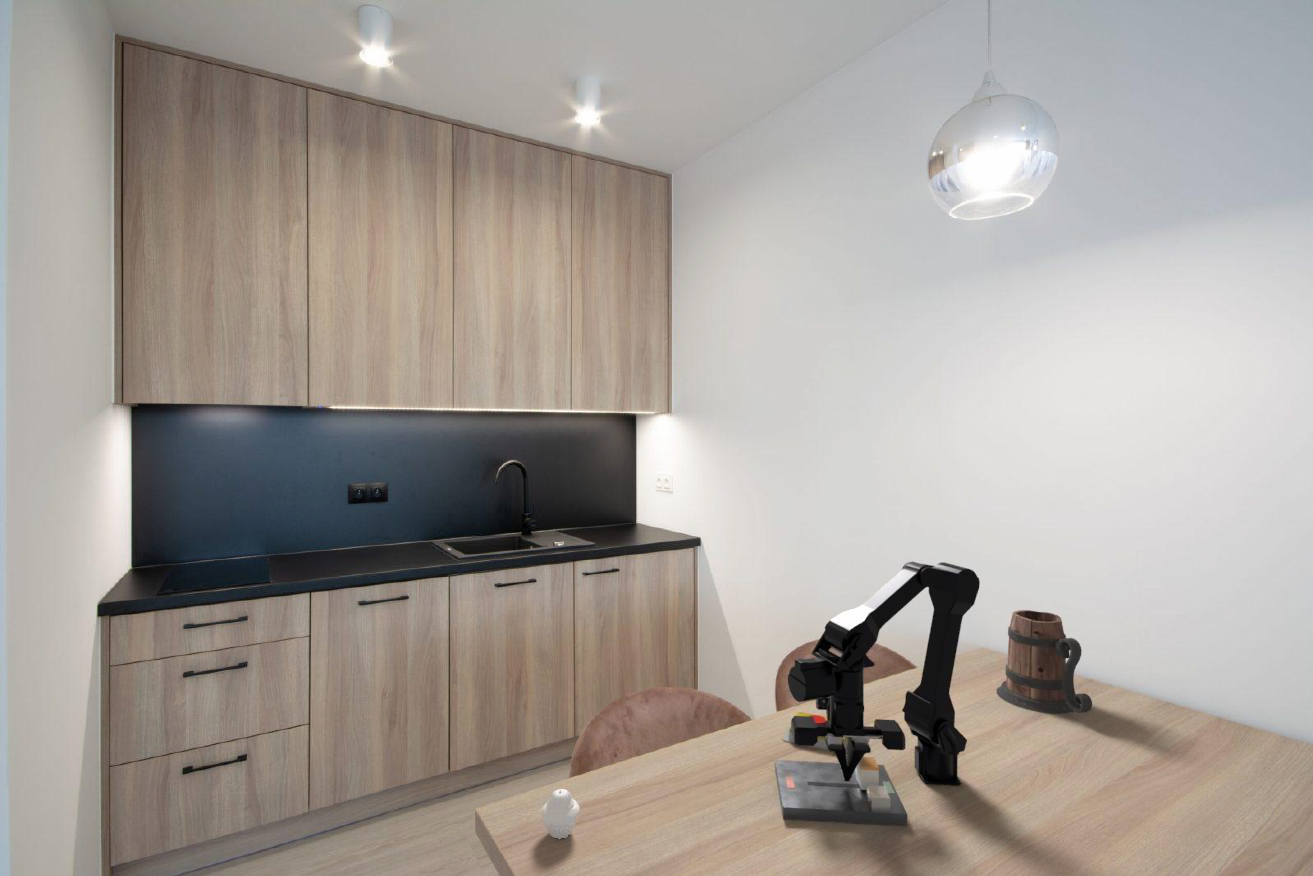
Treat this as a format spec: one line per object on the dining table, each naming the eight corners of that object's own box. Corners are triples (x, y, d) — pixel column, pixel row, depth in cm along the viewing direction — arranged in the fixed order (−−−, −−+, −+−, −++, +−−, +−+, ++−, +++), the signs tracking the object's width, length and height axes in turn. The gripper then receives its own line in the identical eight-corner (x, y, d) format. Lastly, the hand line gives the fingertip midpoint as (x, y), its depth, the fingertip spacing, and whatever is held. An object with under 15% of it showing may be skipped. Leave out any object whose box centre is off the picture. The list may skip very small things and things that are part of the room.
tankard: (980, 686, 159) (981, 607, 158) (1040, 681, 161) (1041, 603, 161) (1053, 730, 136) (1053, 637, 135) (1122, 724, 138) (1122, 633, 138)
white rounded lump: (546, 850, 98) (546, 805, 98) (537, 827, 103) (537, 784, 103) (584, 839, 100) (584, 796, 100) (574, 817, 106) (573, 776, 106)
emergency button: (791, 704, 140) (861, 717, 134) (791, 723, 140) (861, 738, 134) (781, 722, 131) (855, 737, 125) (780, 742, 132) (855, 759, 125)
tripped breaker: (873, 779, 113) (873, 756, 113) (878, 790, 109) (878, 767, 109) (856, 778, 113) (856, 756, 113) (860, 789, 109) (860, 766, 109)
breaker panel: (883, 775, 118) (883, 754, 118) (907, 826, 103) (907, 802, 103) (775, 770, 120) (775, 749, 120) (783, 819, 105) (783, 795, 105)
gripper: (889, 676, 118) (888, 759, 119) (787, 672, 120) (787, 754, 120) (906, 702, 107) (906, 793, 107) (794, 697, 109) (794, 787, 109)
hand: (846, 780), depth 111 cm, fingers closed
